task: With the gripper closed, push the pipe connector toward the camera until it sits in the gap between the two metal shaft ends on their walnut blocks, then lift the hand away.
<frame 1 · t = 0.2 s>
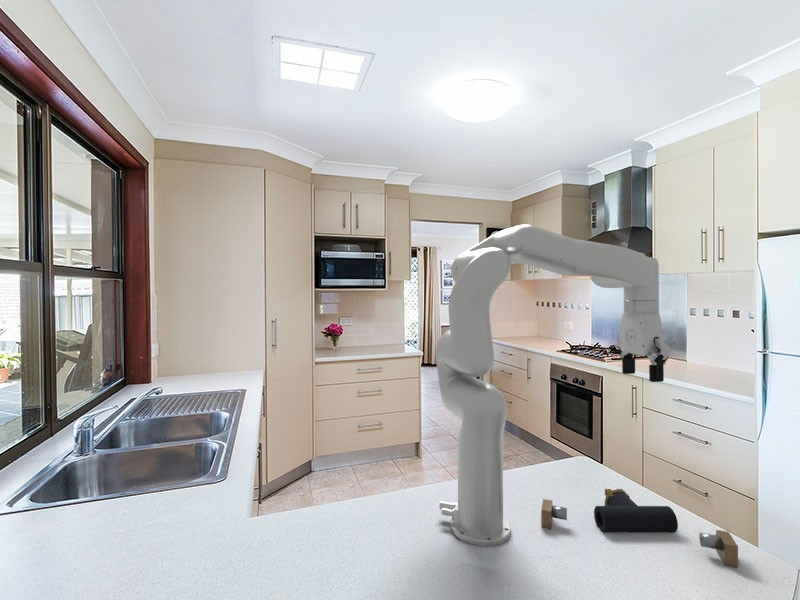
hand: (642, 377, 101), 30 cm above the table, tool pointing down, fingers open, 9 cm apart
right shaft: (716, 546, 78), on the table
left shaft: (554, 515, 90), on the table
pipe connector: (626, 523, 91), on the table
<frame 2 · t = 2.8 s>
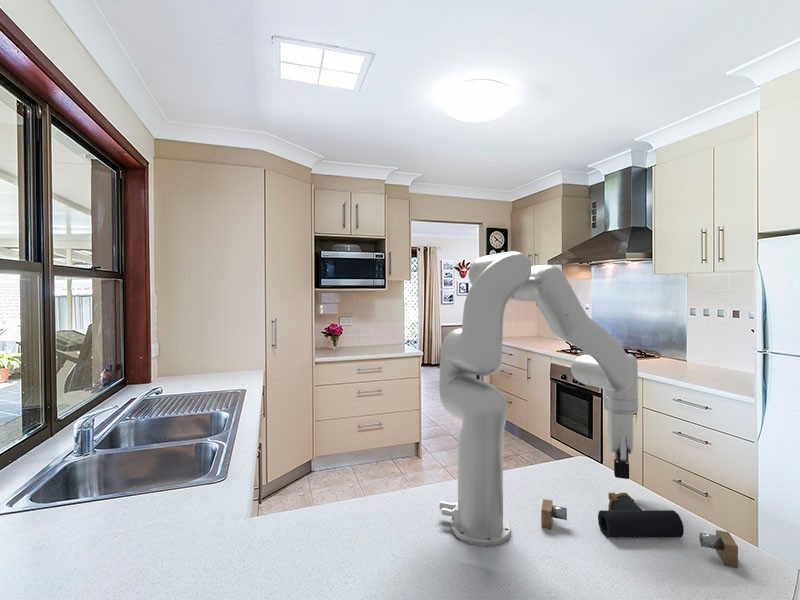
hand: (621, 476, 102), 5 cm above the table, tool pointing down, fingers closed
pipe connector: (630, 527, 89), on the table
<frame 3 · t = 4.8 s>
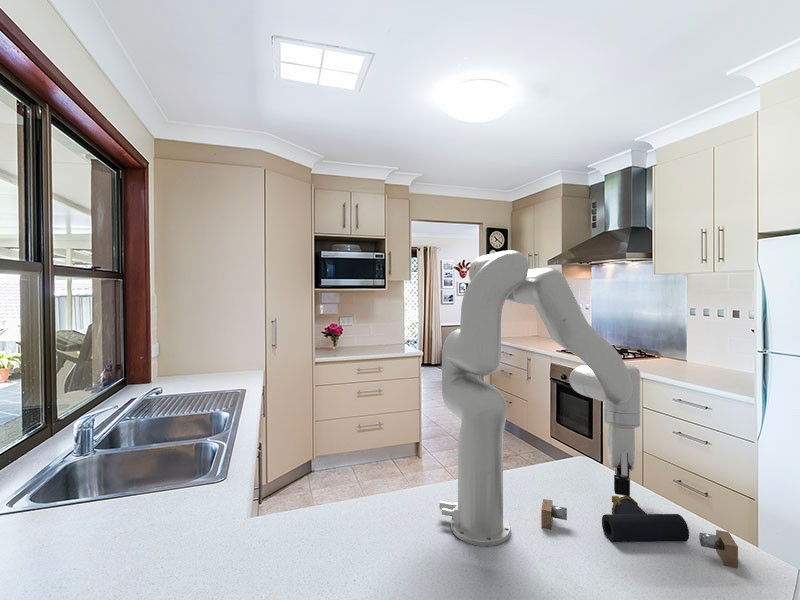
hand: (621, 493, 98), 3 cm above the table, tool pointing down, fingers closed
pipe connector: (635, 531, 88), on the table
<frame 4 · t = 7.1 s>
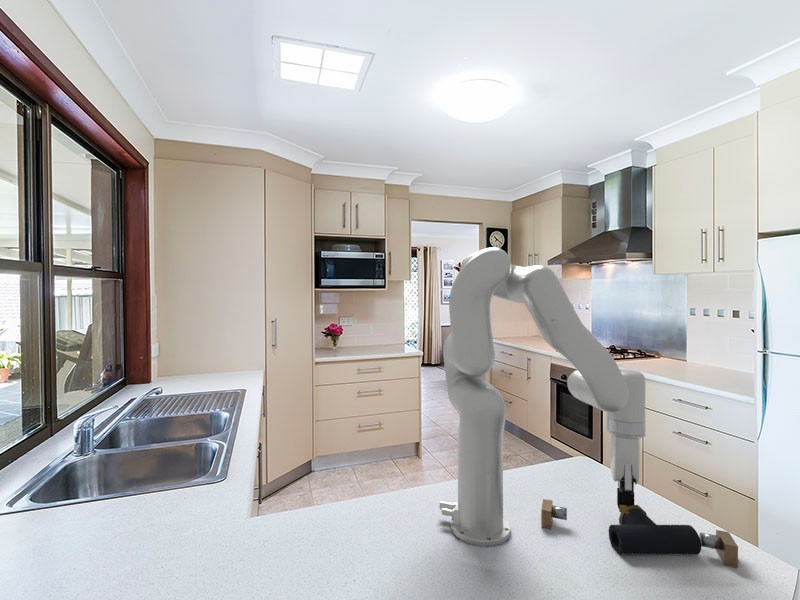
hand: (625, 508, 91), 3 cm above the table, tool pointing down, fingers closed
pipe connector: (643, 543, 84), on the table
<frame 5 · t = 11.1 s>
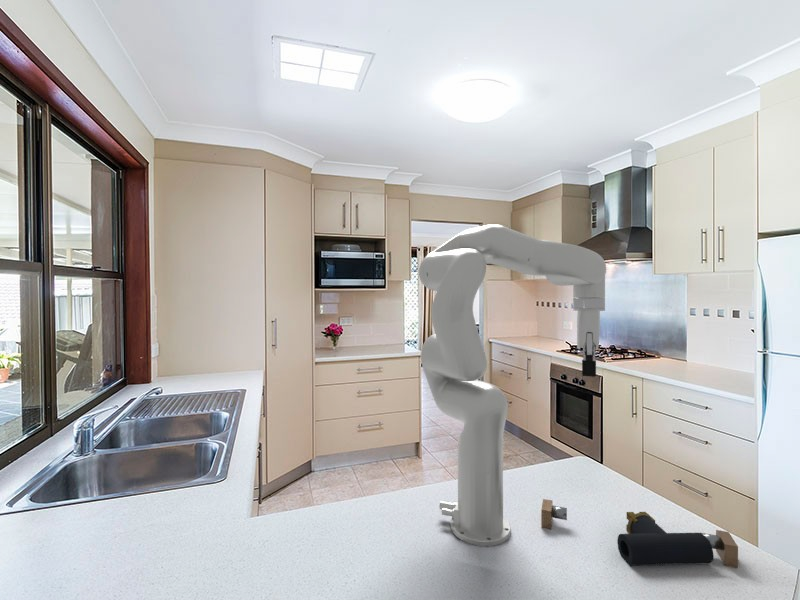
hand: (589, 375, 107), 29 cm above the table, tool pointing down, fingers closed
pipe connector: (653, 551, 81), on the table
at the end: pipe connector inside the target area (4.2 cm from its centre), on the table; pipe connector moved 10.6 cm from its start; the gripper is holding nothing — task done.
